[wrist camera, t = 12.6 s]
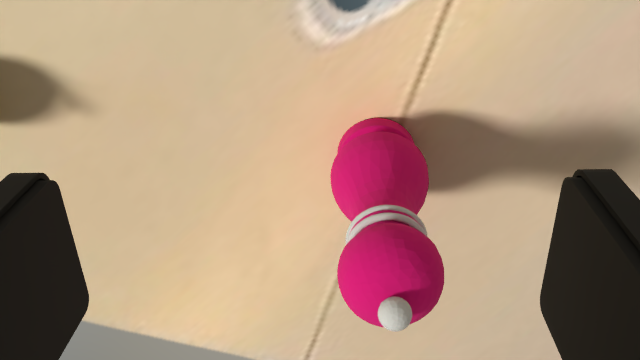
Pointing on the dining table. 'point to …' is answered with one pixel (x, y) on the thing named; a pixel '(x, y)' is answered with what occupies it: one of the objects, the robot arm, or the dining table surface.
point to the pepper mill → (385, 226)
